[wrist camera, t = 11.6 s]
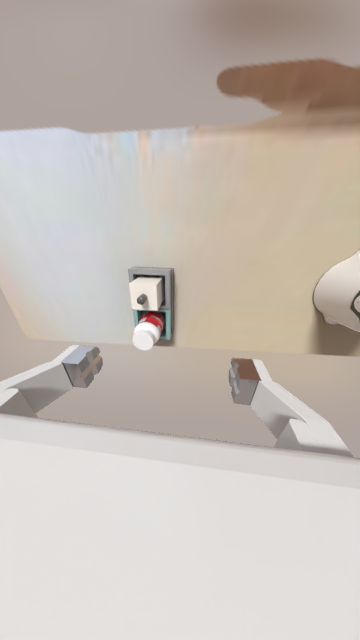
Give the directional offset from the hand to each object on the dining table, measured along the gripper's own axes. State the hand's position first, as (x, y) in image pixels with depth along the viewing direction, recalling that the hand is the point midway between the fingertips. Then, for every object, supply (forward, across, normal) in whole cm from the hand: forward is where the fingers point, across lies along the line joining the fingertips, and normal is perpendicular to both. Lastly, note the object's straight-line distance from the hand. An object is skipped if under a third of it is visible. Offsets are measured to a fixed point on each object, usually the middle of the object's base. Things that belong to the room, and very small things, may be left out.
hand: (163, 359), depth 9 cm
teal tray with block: (+33, +9, +9) cm, 35 cm away
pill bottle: (+31, +9, +14) cm, 35 cm away
